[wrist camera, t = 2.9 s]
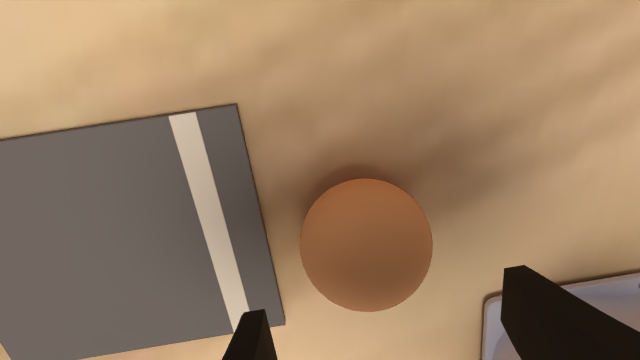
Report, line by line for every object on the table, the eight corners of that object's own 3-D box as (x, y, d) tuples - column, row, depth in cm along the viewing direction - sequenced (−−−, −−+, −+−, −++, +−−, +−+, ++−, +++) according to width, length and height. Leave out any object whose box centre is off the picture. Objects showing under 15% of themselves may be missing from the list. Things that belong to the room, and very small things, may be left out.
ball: (408, 150, 17) (454, 208, 12) (412, 249, 19) (453, 329, 14) (288, 169, 17) (291, 234, 12) (306, 266, 19) (314, 353, 14)
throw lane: (236, 103, 15) (235, 106, 15) (285, 320, 20) (285, 326, 20) (-111, 156, 15) (-120, 160, 15) (21, 364, 20) (16, 370, 19)
